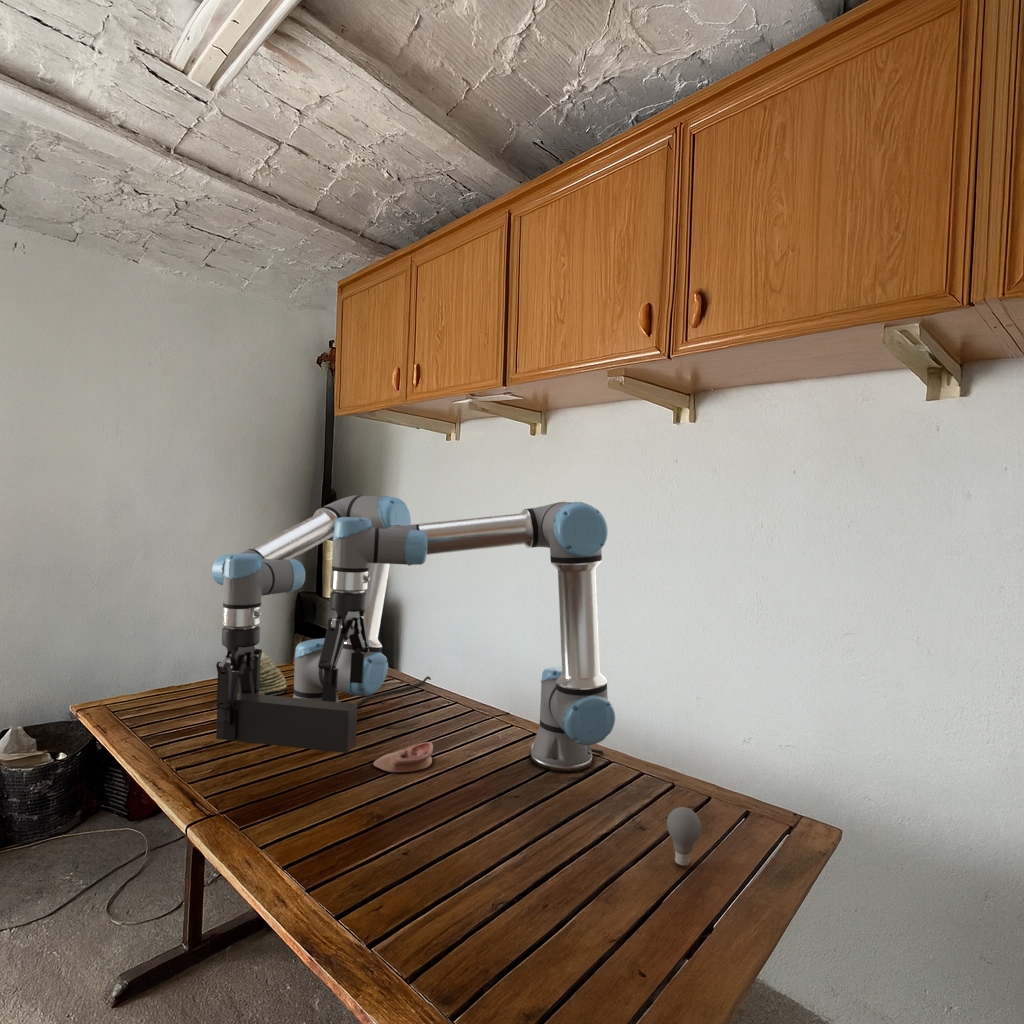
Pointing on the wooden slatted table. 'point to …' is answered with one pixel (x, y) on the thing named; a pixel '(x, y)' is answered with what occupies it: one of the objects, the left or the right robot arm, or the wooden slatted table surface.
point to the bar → (293, 722)
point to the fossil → (269, 677)
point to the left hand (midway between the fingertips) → (237, 733)
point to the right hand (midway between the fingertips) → (343, 691)
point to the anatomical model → (407, 759)
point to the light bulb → (683, 832)
